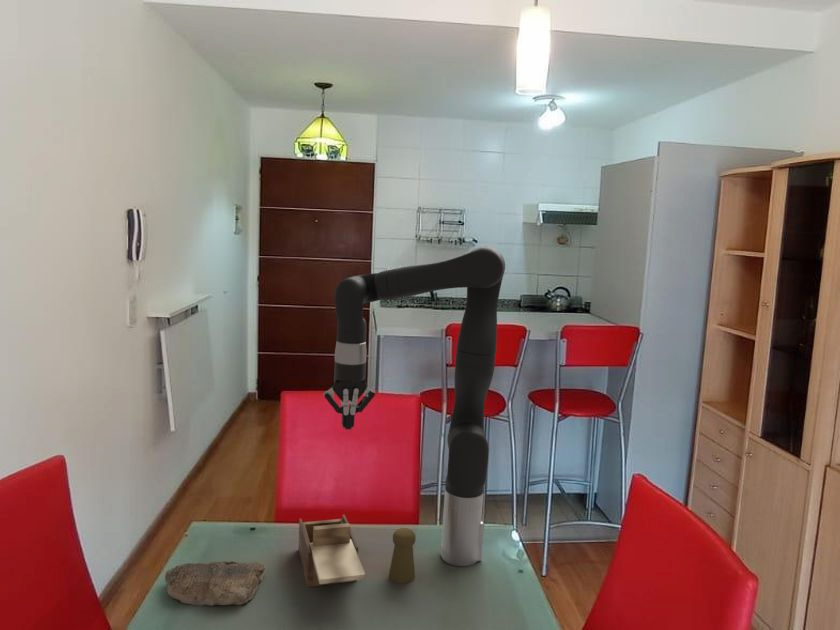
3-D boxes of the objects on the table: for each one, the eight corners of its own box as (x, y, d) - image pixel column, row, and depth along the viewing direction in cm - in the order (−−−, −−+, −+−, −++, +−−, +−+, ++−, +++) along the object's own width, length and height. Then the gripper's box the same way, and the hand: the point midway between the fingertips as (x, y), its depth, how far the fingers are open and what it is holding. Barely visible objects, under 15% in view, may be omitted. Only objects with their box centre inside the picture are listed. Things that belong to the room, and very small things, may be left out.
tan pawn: (383, 575, 147) (385, 530, 145) (401, 565, 151) (404, 521, 149) (402, 586, 143) (404, 540, 141) (420, 576, 147) (423, 531, 145)
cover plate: (350, 542, 146) (351, 522, 145) (365, 578, 132) (366, 556, 132) (309, 547, 143) (310, 526, 143) (319, 584, 130) (320, 561, 129)
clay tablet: (151, 606, 131) (248, 611, 131) (151, 583, 131) (248, 589, 130) (179, 570, 145) (266, 575, 145) (178, 549, 145) (267, 554, 144)
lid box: (343, 545, 159) (344, 514, 158) (356, 581, 144) (358, 547, 143) (298, 549, 155) (299, 518, 154) (307, 587, 140) (308, 553, 139)
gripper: (325, 363, 149) (323, 435, 152) (381, 362, 153) (377, 432, 156) (320, 356, 156) (318, 424, 159) (373, 355, 160) (370, 422, 163)
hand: (347, 428), depth 157 cm, fingers closed
